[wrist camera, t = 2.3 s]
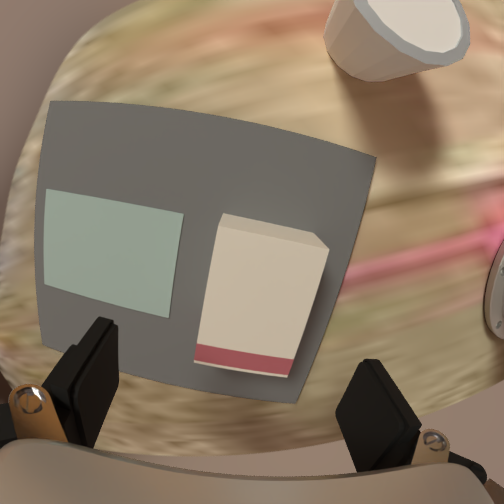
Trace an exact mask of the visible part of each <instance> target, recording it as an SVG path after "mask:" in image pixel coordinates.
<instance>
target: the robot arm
mask: <svg viewBox="0 0 504 504" xmlns="http://www.w3.org/2000/svg"><path fill="white" fill-rule="evenodd" d="M484 308H485V318H486V322H487V325H488V327H489V329H490V330H491V332H493V333H494V334H495V335H496V336H497V337H499V338H501V339H504V241H503V242H502V244H501V246H500V249H499V251H498V253H497V255H496V257H495V260H494V263H493V266H492V268H491V272H490V275H489V279H488V283H487V289H486V294H485V307H484ZM118 384H119V361H118V325H116V324H114V320H112V319H108V318H104V317H101V316H99V317H98V318H97V319H96V320H95V321H94V323H93V324H92V325H91V327H90V328H89V329H88V331H87V332H86V333H85V335H84V336H83V338H82V339H81V340H80V342H79V343H78V344H77V345H75V344H72V345H71V346H70V347H69V348H68V349H67V351H66V352H65V353H64V355H63V356H62V358H61V359H60V360H59V362H58V363H57V364H56V366H55V367H54V369H53V370H52V371H51V373H50V374H49V376H48V377H47V379H46V380H45V381H44V383H43V384H42V386H41V387H40V386H38V385H35V384H23V385H20V386H18V387H16V388H14V390H13V391H12V392H11V393H10V396H9V403H6V404H0V504H504V488H503V487H501V486H500V485H499V484H497V483H496V482H494V481H493V480H491V479H489V480H488V481H487V474H486V472H485V470H484V468H483V467H482V466H481V465H480V464H478V463H476V462H474V461H471V460H469V459H466V458H464V457H461V456H459V455H457V454H455V453H453V452H450V451H449V449H450V444H449V441H448V439H447V437H446V436H445V435H444V434H443V433H441V432H439V431H437V430H434V429H426V430H423V431H422V432H420V431H419V429H420V427H421V426H422V424H421V422H420V421H419V419H418V418H417V416H416V415H415V413H414V412H413V410H412V408H411V407H410V405H409V404H408V402H407V401H406V399H405V398H404V396H403V395H402V393H401V392H400V390H399V389H398V387H397V386H396V384H395V383H394V381H393V380H392V378H391V377H390V375H389V374H388V372H387V371H386V369H385V368H384V366H383V365H382V363H381V362H380V361H379V360H378V359H364V360H363V362H360V363H359V365H358V367H357V369H356V371H355V373H354V375H353V377H352V379H351V381H350V383H349V385H348V387H347V389H346V391H345V393H344V395H343V397H342V399H341V401H340V403H339V405H338V407H337V409H336V418H337V421H338V424H339V426H340V429H341V431H342V434H343V437H344V439H345V442H346V444H347V447H348V450H349V452H350V455H351V457H352V460H353V463H354V466H355V468H356V471H357V473H349V474H339V475H325V476H301V477H268V476H267V477H266V476H245V475H231V474H221V473H211V472H203V471H195V470H188V469H182V468H176V467H170V466H165V465H160V464H155V463H150V462H145V461H140V460H136V459H131V458H127V457H123V456H119V455H115V454H112V453H108V452H104V451H100V450H96V449H93V448H94V445H95V442H96V440H97V437H98V435H99V432H100V429H101V427H102V424H103V422H104V419H105V417H106V414H107V412H108V410H109V407H110V405H111V402H112V400H113V397H114V395H115V393H116V390H117V388H118Z"/></svg>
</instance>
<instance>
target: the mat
mask: <svg viewBox="0 0 504 504" xmlns="http://www.w3.org/2000/svg"><path fill="white" fill-rule="evenodd" d="M376 158H377V157H374V156H371V155H368V154H365V153H362V152H359V151H356V150H353V149H350V148H347V147H344V146H340V145H337V144H334V143H330V142H327V141H324V140H320V139H317V138H313V137H309V136H306V135H302V134H298V133H294V132H290V131H286V130H282V129H278V128H274V127H270V126H266V125H261V124H257V123H252V122H247V121H242V120H237V119H232V118H227V117H222V116H216V115H210V114H205V113H198V112H192V111H185V110H178V109H171V108H163V107H154V106H145V105H135V104H123V103H109V102H89V101H50V105H49V110H48V114H47V119H46V124H45V130H44V135H43V141H42V147H41V154H40V162H39V170H38V179H37V190H36V205H35V230H34V254H35V280H36V294H37V305H38V315H39V323H40V330H41V337H42V344H43V345H45V346H47V347H50V348H53V349H55V350H58V351H60V352H63V353H65V352H66V351H67V349H68V348H69V347H70V346H71V345H72V344H75V345H77V344H78V343H79V342H80V340H81V339H82V338H83V336H84V335H85V333H86V332H87V331H88V329H89V328H90V327H91V325H92V324H93V323H94V321H95V320H96V319H97V318H98V317H99V316H101V317H104V318H108V319H112V320H114V324H116V325H118V361H119V371H121V372H124V373H128V374H131V375H135V376H139V377H143V378H147V379H150V380H154V381H159V382H163V383H167V384H171V385H176V386H180V387H185V388H190V389H195V390H200V391H205V392H211V393H216V394H222V395H228V396H235V397H242V398H249V399H256V400H264V401H273V402H283V403H294V404H295V403H296V401H297V399H298V397H299V394H300V392H301V390H302V387H303V385H304V382H305V380H306V378H307V375H308V373H309V370H310V368H311V365H312V363H313V361H314V358H315V355H316V353H317V350H318V348H319V345H320V343H321V340H322V337H323V335H324V332H325V329H326V327H327V324H328V321H329V318H330V316H331V313H332V310H333V307H334V304H335V301H336V298H337V296H338V293H339V290H340V287H341V284H342V281H343V278H344V274H345V271H346V268H347V265H348V262H349V259H350V255H351V252H352V249H353V245H354V242H355V239H356V235H357V232H358V228H359V225H360V221H361V218H362V214H363V210H364V206H365V203H366V199H367V195H368V191H369V187H370V183H371V179H372V175H373V171H374V166H375V162H376ZM223 213H225V214H229V215H234V216H239V217H244V218H249V219H253V220H258V221H263V222H267V223H272V224H276V225H281V226H285V227H290V228H294V229H299V230H303V231H308V232H312V233H314V234H315V235H316V236H317V237H318V238H319V239H320V240H321V241H322V242H323V243H324V244H325V245H326V246H327V247H328V248H329V249H330V250H329V253H328V256H327V260H326V263H325V267H324V270H323V273H322V276H321V280H320V283H319V286H318V289H317V292H316V296H315V299H314V302H313V305H312V308H311V311H310V314H309V317H308V320H307V323H306V326H305V329H304V332H303V335H302V338H301V340H300V343H299V346H298V349H297V352H296V355H295V357H294V361H293V363H292V366H291V369H290V372H289V374H288V376H287V378H286V377H278V376H270V375H263V374H256V373H249V372H243V371H236V370H230V369H225V368H219V367H213V366H208V365H203V364H198V363H194V356H195V350H196V344H197V339H198V333H199V327H200V321H201V315H202V309H203V303H204V298H205V292H206V287H207V281H208V276H209V270H210V265H211V260H212V254H213V249H214V244H215V239H216V234H217V229H218V225H219V222H220V220H221V217H222V215H223Z"/></svg>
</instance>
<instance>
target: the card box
mask: <svg viewBox="0 0 504 504" xmlns="http://www.w3.org/2000/svg"><path fill="white" fill-rule="evenodd" d="M329 250H330V249H329V248H328V247H327V246H326V245H325V244H324V243H323V242H322V241H321V240H320V239H319V238H318V237H317V236H316V235H315V234H314V233H312V232H308V231H303V230H299V229H294V228H290V227H285V226H281V225H276V224H272V223H267V222H263V221H258V220H253V219H249V218H244V217H239V216H234V215H229V214H225V213H223V215H222V217H221V220H220V222H219V225H218V229H217V234H216V239H215V244H214V249H213V254H212V260H211V265H210V270H209V276H208V281H207V287H206V292H205V298H204V303H203V309H202V315H201V321H200V327H199V333H198V339H197V344H196V350H195V356H194V363H198V364H203V365H208V366H213V367H219V368H225V369H230V370H236V371H243V372H249V373H256V374H263V375H270V376H278V377H286V378H287V376H288V374H289V372H290V369H291V366H292V363H293V361H294V357H295V355H296V352H297V349H298V346H299V343H300V340H301V338H302V335H303V332H304V329H305V326H306V323H307V320H308V317H309V314H310V311H311V308H312V305H313V302H314V299H315V296H316V292H317V289H318V286H319V283H320V280H321V276H322V273H323V270H324V267H325V263H326V260H327V256H328V253H329Z"/></svg>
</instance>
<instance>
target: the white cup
mask: <svg viewBox="0 0 504 504" xmlns="http://www.w3.org/2000/svg"><path fill="white" fill-rule="evenodd" d="M323 38H324V41H325V45H326V48H327V52H328V53H329V55H330V56H331V57H332V59H333V60H334V62H335V63H336V64H337V66H338V67H340V68H341V69H343V70H344V71H345V72H347V73H348V74H349V75H350V76H352V77H355V78H358V79H361V80H363V81H366V82H384V81H387V80H391V79H394V78H398V77H402V76H406V75H410V74H414V73H418V72H422V71H426V70H431V69H435V68H440V67H444V66H448V65H450V64H452V63H454V62H457V61H459V60H461V59H463V57H464V55H465V53H466V51H467V49H468V47H469V45H470V27H469V22H468V20H467V17H466V14H465V12H464V10H463V7H462V5H461V3H460V1H459V0H335V2H334V4H333V7H332V9H331V12H330V14H329V17H328V20H327V22H326V25H325V31H324V36H323Z"/></svg>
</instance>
